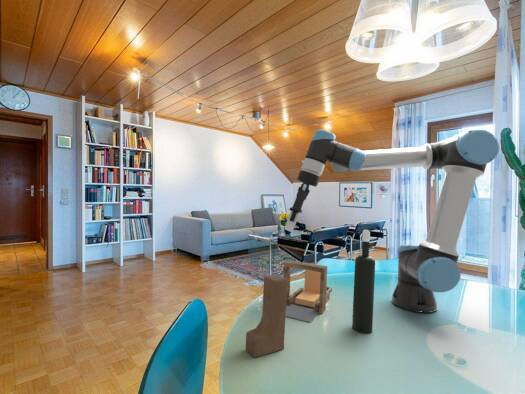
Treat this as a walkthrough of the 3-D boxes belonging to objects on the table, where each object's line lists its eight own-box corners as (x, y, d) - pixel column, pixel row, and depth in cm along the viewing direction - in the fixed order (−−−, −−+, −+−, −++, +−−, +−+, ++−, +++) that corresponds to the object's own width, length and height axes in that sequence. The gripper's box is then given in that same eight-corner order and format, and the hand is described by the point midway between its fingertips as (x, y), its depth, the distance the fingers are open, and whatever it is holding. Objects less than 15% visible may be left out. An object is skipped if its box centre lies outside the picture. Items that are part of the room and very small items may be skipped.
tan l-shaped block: (305, 294, 115) (306, 266, 115) (322, 297, 111) (323, 269, 111) (295, 303, 104) (296, 273, 104) (313, 307, 101) (315, 276, 101)
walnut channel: (297, 292, 117) (299, 255, 117) (333, 300, 110) (335, 260, 111) (282, 304, 103) (284, 262, 103) (322, 314, 96) (324, 268, 96)
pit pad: (313, 287, 126) (313, 284, 126) (331, 290, 123) (331, 287, 123) (308, 291, 119) (308, 289, 119) (327, 295, 116) (327, 292, 116)
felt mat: (287, 304, 104) (287, 303, 104) (319, 311, 99) (320, 310, 99) (275, 314, 94) (275, 313, 94) (310, 322, 89) (310, 321, 89)
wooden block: (253, 358, 67) (257, 282, 68) (244, 349, 71) (248, 277, 71) (284, 349, 72) (287, 278, 72) (274, 341, 76) (277, 274, 76)
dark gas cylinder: (348, 326, 87) (352, 229, 88) (362, 324, 90) (366, 229, 90) (361, 335, 82) (365, 231, 82) (376, 332, 84) (380, 231, 85)
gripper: (301, 173, 114) (282, 222, 115) (299, 164, 89) (275, 227, 90) (319, 179, 113) (300, 229, 113) (322, 172, 88) (297, 236, 89)
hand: (289, 228), depth 102 cm, fingers open, 13 cm apart
